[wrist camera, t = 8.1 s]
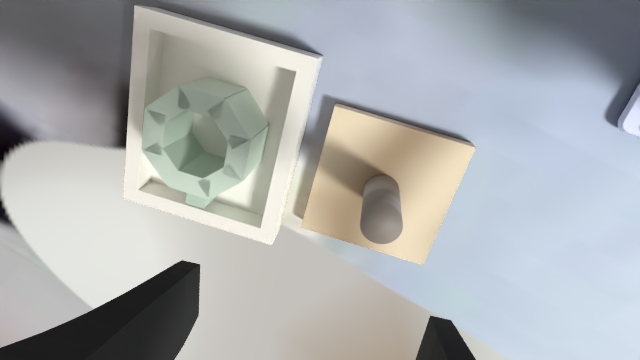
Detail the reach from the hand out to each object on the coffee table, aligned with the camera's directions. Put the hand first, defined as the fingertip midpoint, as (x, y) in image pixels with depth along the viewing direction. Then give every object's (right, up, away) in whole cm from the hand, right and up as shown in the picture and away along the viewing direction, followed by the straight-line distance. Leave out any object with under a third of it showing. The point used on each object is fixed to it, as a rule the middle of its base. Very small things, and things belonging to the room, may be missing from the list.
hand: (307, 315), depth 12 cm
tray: (-5, +7, +9) cm, 12 cm away
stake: (+4, +4, +9) cm, 10 cm away
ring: (-5, +7, +8) cm, 12 cm away
